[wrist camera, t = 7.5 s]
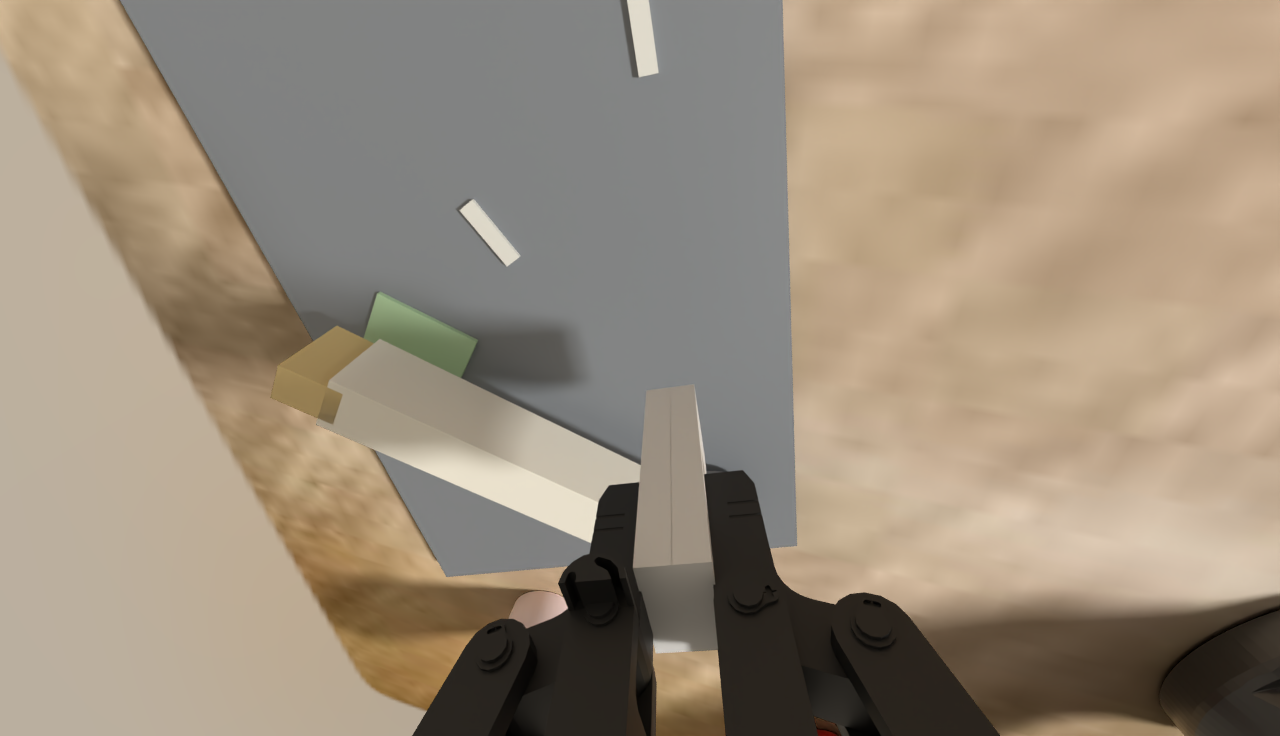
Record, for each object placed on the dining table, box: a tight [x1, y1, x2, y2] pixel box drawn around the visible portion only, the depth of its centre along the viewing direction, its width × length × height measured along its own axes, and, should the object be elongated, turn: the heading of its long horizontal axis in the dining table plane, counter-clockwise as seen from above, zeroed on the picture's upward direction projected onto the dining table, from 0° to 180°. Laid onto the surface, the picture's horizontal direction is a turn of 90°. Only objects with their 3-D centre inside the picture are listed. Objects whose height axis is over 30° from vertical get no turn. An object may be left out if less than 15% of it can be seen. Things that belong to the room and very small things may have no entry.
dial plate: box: [120, 0, 797, 577], centre depth 19 cm, size 28×19×1 cm
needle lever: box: [270, 326, 721, 543], centre depth 18 cm, size 19×4×5 cm, turn 59°
